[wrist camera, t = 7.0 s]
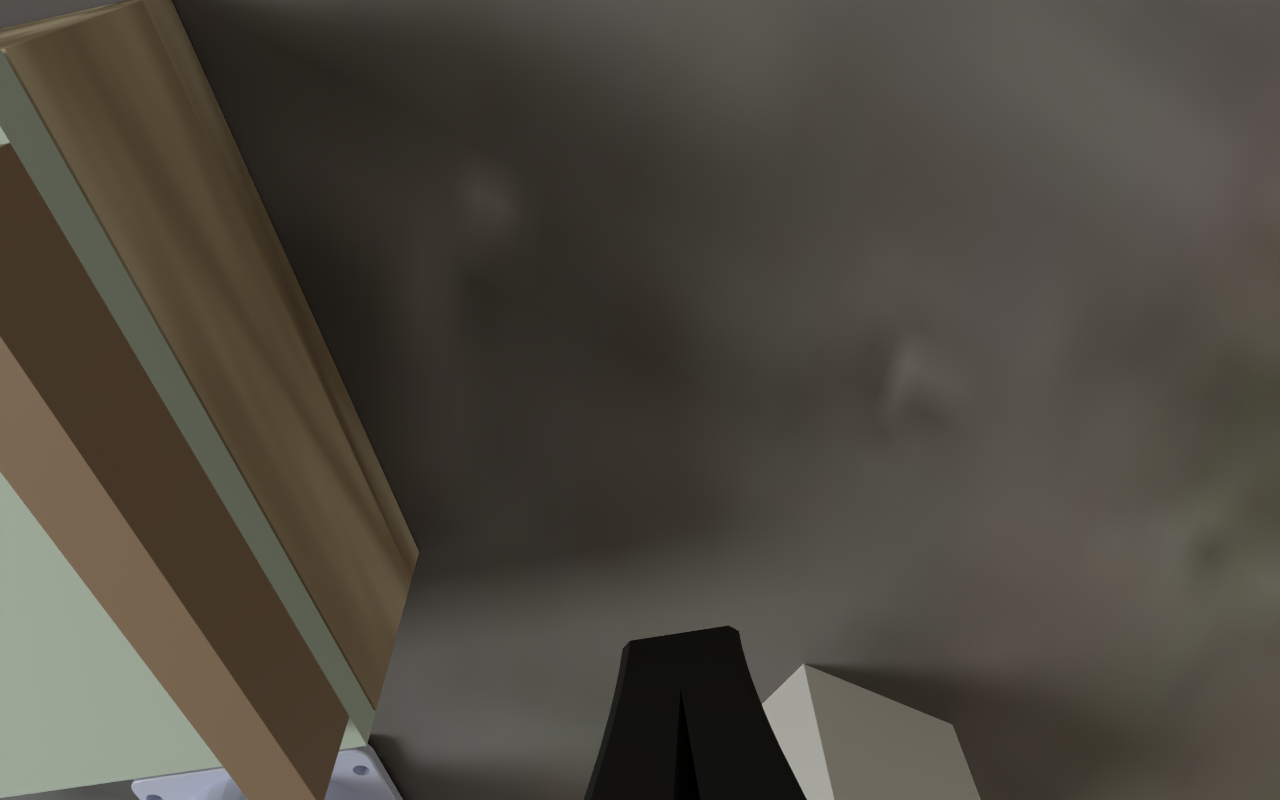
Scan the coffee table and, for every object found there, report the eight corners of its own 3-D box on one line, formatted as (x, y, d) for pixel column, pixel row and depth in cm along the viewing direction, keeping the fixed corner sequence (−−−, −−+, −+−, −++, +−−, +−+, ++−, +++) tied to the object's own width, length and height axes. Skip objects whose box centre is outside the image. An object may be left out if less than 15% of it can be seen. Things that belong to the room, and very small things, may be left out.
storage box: (167, -9, 16) (5, 49, 12) (419, 552, 23) (375, 709, 19) (-416, 121, 17) (-760, 217, 13) (7, 618, 24) (-120, 782, 20)
